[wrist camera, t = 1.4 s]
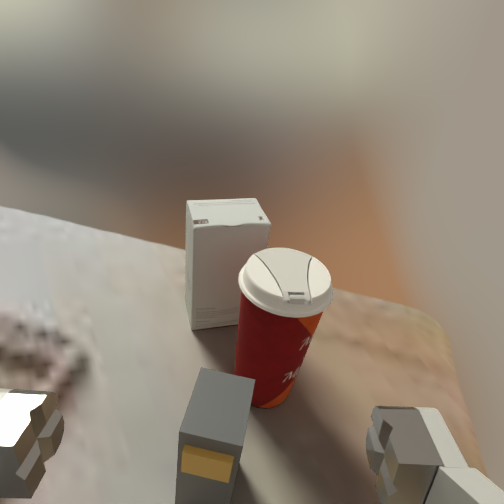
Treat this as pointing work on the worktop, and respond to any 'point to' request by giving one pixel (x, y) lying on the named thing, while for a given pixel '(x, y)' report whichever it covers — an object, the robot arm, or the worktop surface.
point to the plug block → (212, 438)
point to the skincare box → (220, 256)
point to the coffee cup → (278, 319)
